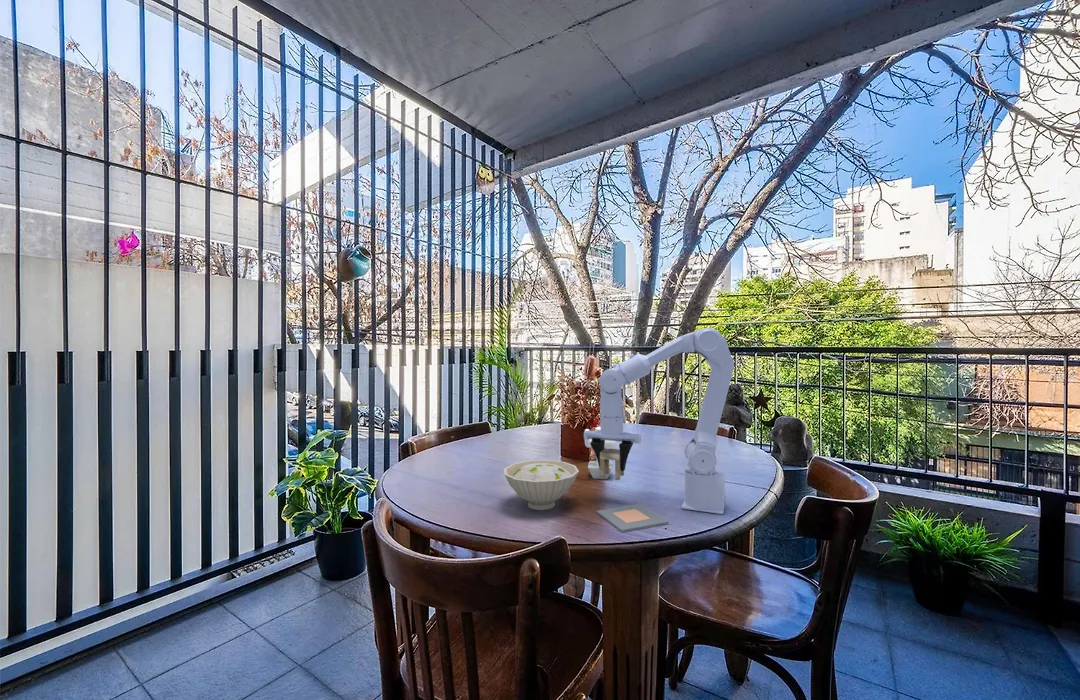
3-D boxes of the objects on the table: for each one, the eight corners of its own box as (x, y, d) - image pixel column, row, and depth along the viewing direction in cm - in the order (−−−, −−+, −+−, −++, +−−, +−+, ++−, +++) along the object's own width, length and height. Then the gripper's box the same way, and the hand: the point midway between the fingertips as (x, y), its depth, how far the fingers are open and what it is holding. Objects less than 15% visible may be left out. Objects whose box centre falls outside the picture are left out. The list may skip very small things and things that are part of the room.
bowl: (494, 497, 122) (493, 460, 122) (561, 488, 129) (560, 452, 129) (517, 524, 104) (516, 481, 104) (593, 512, 111) (592, 471, 111)
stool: (624, 474, 119) (624, 449, 119) (619, 480, 115) (619, 454, 114) (605, 472, 121) (605, 448, 121) (599, 477, 117) (599, 452, 116)
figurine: (616, 480, 135) (615, 430, 134) (584, 479, 136) (583, 429, 136) (616, 473, 142) (615, 425, 141) (585, 472, 143) (585, 424, 143)
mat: (639, 505, 115) (639, 503, 115) (668, 523, 103) (668, 521, 103) (596, 512, 110) (596, 510, 110) (621, 532, 99) (621, 529, 99)
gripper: (643, 415, 118) (643, 467, 118) (589, 412, 124) (590, 462, 124) (637, 419, 112) (637, 475, 112) (580, 416, 118) (581, 469, 118)
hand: (612, 468), depth 118 cm, fingers closed on stool, 5 cm apart
